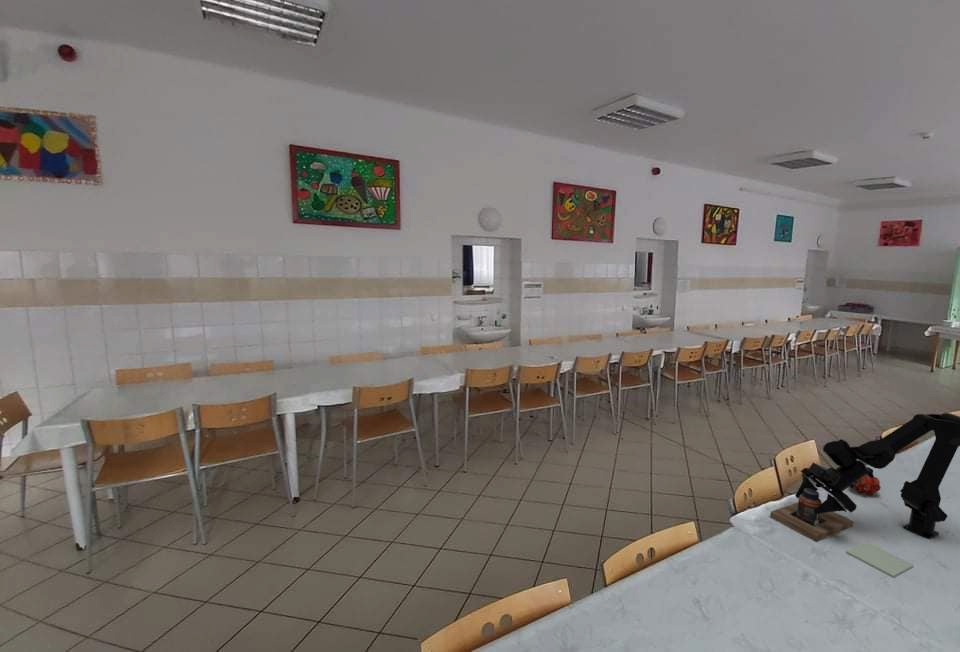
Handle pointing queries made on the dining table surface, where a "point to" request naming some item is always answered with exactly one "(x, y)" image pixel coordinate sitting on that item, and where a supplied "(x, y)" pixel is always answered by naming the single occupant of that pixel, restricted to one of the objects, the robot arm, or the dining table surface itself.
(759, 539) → the dining table surface
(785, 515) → the socket board
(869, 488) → the dragon fruit
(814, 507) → the supplement bottle
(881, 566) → the sage pad
